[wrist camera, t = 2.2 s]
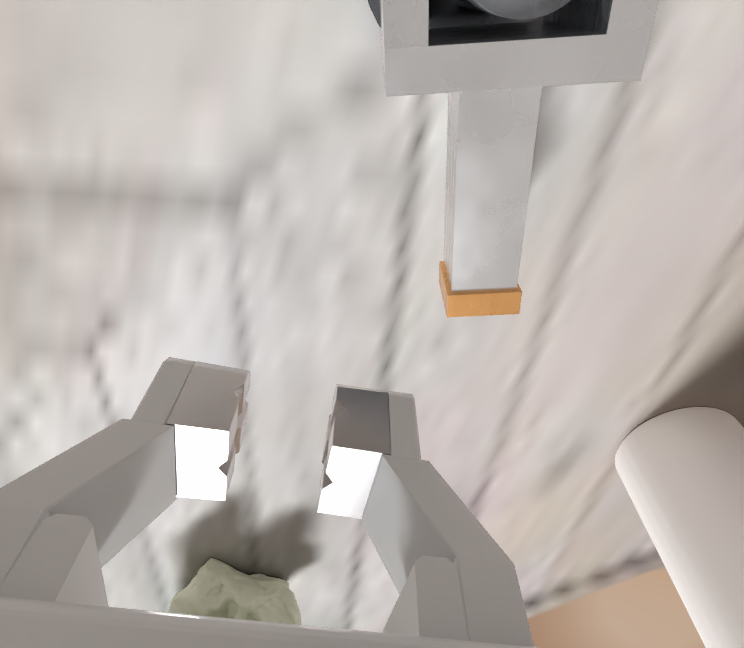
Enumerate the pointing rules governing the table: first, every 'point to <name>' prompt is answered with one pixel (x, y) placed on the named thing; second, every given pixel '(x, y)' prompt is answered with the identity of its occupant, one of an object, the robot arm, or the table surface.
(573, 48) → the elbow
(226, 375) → the robot arm
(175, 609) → the wavy plaster lump
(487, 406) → the table surface
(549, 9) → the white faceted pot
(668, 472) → the cylinder container
